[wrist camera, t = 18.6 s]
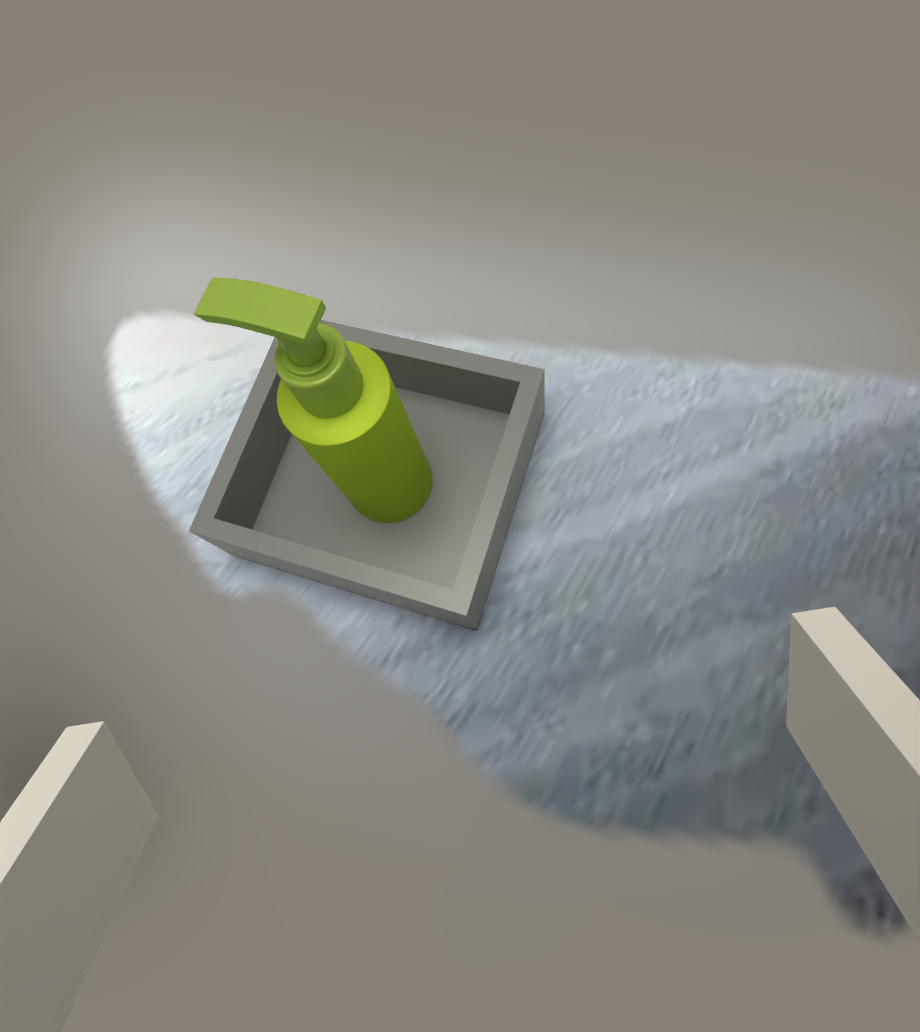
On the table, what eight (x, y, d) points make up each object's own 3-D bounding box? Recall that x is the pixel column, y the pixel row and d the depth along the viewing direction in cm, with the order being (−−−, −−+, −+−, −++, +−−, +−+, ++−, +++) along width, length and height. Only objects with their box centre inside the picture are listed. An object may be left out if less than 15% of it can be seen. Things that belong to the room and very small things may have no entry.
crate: (544, 412, 47) (544, 369, 41) (476, 630, 43) (466, 615, 37) (314, 358, 51) (285, 312, 45) (232, 555, 47) (188, 531, 41)
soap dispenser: (353, 430, 47) (225, 231, 28) (444, 455, 46) (373, 263, 27) (322, 505, 46) (165, 348, 27) (415, 533, 44) (318, 389, 26)
